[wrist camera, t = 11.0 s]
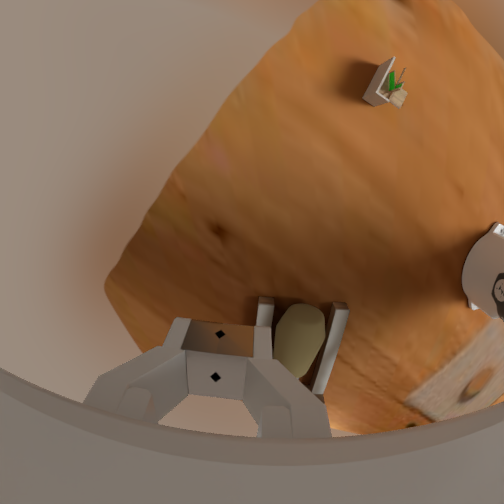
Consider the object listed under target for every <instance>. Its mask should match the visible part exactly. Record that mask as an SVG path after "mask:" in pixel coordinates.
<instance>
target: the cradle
mask: <svg viewBox="0 0 504 504" xmlns="http://www.w3.org/2000/svg"><path fill="white" fill-rule="evenodd" d="M273 311H274V298H270V297H259V300H258V309H257V318H256V326H268V327H270V328H271V325H272V318H273ZM349 312H350V310H349V308H348V306H347V304H346V303H342V302H333V303H332V307H331V311H330V315H329V319H328V323H327V327H326V330H325V339H324V341H323V344H322V345H321V349H320V352H319V356H318V359H317V363H316V366H315V369H314V373H313V376H312V379H311V382H310V385H304V386H305V387H306V388H307V389H308V390H309V391H311V392H312V393H313V394H314V395H315V396H316V397H317V398H318V399H319V400H320V401H321V402H322V403H325V402H324V397H323V392H324V390H325V387H326V384H327V381H328V378H329V376H330V373H331V370H332V367H333V364H334V361H335V358H336V355H337V352H338V349H339V346H340V342H341V339H342V336H343V333H344V329H345V326H346V322H347V319H348V315H349Z"/></svg>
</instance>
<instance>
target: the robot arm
mask: <svg viewBox="0 0 504 504" xmlns="http://www.w3.org/2000/svg"><path fill="white" fill-rule="evenodd" d="M462 287H463V290H464V292H465V294H466V295H467V297H468V303H469V307H470V308H471V309H472V310H476V309H481V310H482V311H483V312H485V313H486V314H487V315H488V316H490V317H491V318H492V319H496V318H501V319H502V320H503V322H504V226H503V225H502V224H500V223H498V222H496V223H495V224H494V225H493V227H492V228H491V229H490V231H489V232H488V233H487V234H486V235H484V236H483V237H482V238H480V239H479V240H478V241H477V242H476V244H475V245H474V246H473V248H472V249H471V251H470V252H469V254H468V256H467V259H466V261H465V264H464V268H463V273H462ZM188 394H193V395H201V396H210V397H215V396H216V397H220V398H226V399H234V400H243V403H244V404H245V406H246V408H247V409H248V411H249V412H250V414H251V415H252V417H253V418H254V420H255V421H256V423H257V424H258V426H259V428H258V433H257V437H244V436H232V435H222V434H214V433H206V432H199V431H192V430H186V429H180V428H174V427H169V426H164V425H159V424H158V421H159V420H160V419H162V418H163V417H164V416H165V415H166V414H167V413H169V412H170V411H171V410H172V409H173V408H174V407H176V406H177V405H178V404H179V403H180V402H181V401H182V400H183V399H185V398H186V397H187V396H188ZM0 504H504V402H501V403H498V404H496V405H493V406H490V407H487V408H484V409H481V410H478V411H475V412H472V413H469V414H465V415H462V416H459V417H455V418H451V419H447V420H444V421H439V422H435V423H431V424H427V425H422V426H417V427H412V428H407V429H401V430H395V431H389V432H382V433H374V434H366V435H357V436H345V437H332V434H331V429H330V424H329V419H328V415H327V410H326V405H325V404H324V403H322V402H321V401H320V400H319V399H318V398H317V397H316V396H315V395H314V394H313V393H312V392H311V391H309V390H308V389H307V388H306V387H305V386H304V385H303V384H302V383H301V382H300V381H299V380H298V379H297V378H296V377H295V376H294V375H293V374H291V373H290V372H289V371H288V370H287V369H286V368H285V367H284V366H283V365H282V364H281V363H280V362H279V361H278V360H275V359H272V340H271V328H270V327H268V326H246V325H233V324H223V323H217V322H210V321H203V320H196V319H189V318H181V317H177V318H175V319H174V322H173V324H172V326H171V328H170V330H169V332H168V335H167V337H166V339H165V341H164V343H163V346H162V347H161V346H157V347H155V348H153V349H151V350H149V351H147V352H145V353H143V354H141V355H140V356H138V357H136V358H134V359H132V360H130V361H128V362H126V363H124V364H122V365H120V366H118V367H116V368H114V369H113V370H110V371H108V372H106V373H104V374H102V375H100V376H99V377H98V378H97V380H96V381H95V383H94V385H93V387H92V388H91V390H90V391H89V393H88V395H87V397H86V398H85V400H84V402H83V403H80V402H77V401H74V400H71V399H69V398H66V397H64V396H61V395H59V394H56V393H54V392H51V391H49V390H46V389H44V388H41V387H39V386H37V385H35V384H33V383H30V382H28V381H26V380H24V379H22V378H20V377H18V376H16V375H14V374H12V373H10V372H8V371H6V370H4V369H2V368H0Z"/></svg>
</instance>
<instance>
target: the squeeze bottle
mask: <svg viewBox="0 0 504 504" xmlns="http://www.w3.org/2000/svg"><path fill="white" fill-rule="evenodd" d="M324 339H325V318H324V314H323V313H322V312H321V311H320V310H319V309H318V308H316V307H315V306H312V305H309V304H304V303H298V304H293V305H291V306H290V307H289V308H288V309H287V311H286V312H285V314H284V315H283V316H282V318H281V319H280V321H279V322H278V324H277V325H276V332H275V342H274V351H273V359H275V360H278V361H279V362H280V363H281V364H282V365H283V366H284V367H285V368H286V369H287V370H288V371H289V372H290V373H291V374H293V375H294V376H295V377H296V378H297V379H299V377H302V376H303V375H305V374H306V373H307V371H308V369H309V367H310V366H311V364H312V362H313V360H314V358H315V357H316V355H317V353H318V351H319V349H320V347H321V345H322V344H323V341H324Z"/></svg>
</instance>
